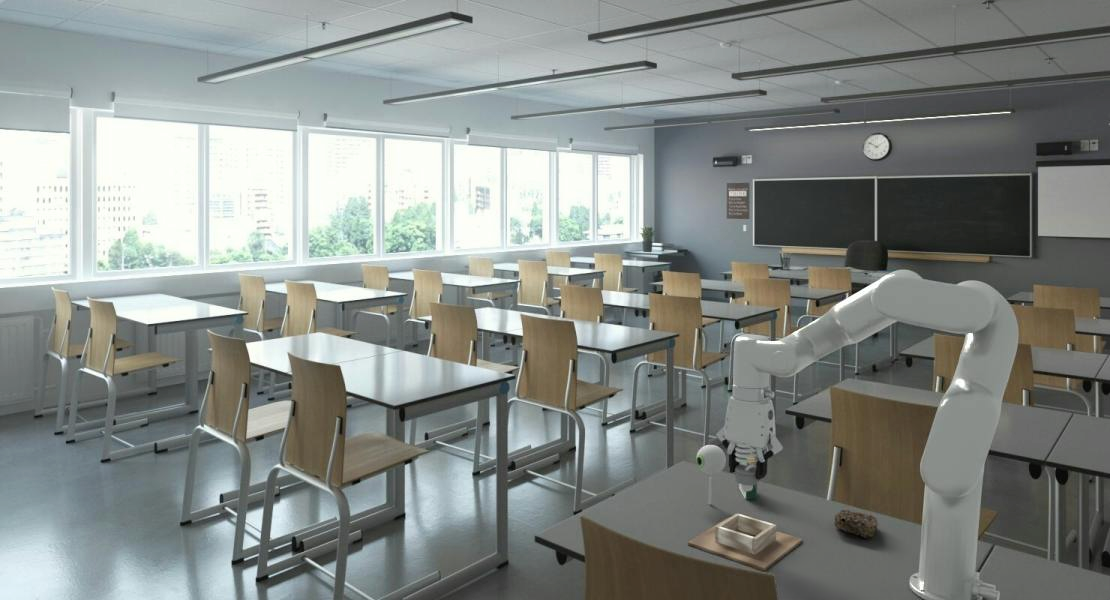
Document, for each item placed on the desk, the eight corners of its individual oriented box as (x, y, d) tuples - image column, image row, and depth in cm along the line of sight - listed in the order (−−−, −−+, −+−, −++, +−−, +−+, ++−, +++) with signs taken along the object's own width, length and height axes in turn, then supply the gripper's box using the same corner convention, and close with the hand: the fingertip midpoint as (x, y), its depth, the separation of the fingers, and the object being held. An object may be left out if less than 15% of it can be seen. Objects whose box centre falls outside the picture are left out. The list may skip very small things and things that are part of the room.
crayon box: (757, 500, 196) (758, 455, 194) (745, 499, 196) (746, 455, 194) (750, 489, 203) (752, 445, 201) (738, 488, 203) (740, 445, 202)
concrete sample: (871, 546, 170) (872, 524, 170) (824, 534, 177) (825, 512, 176) (886, 528, 179) (887, 507, 179) (841, 517, 185) (842, 497, 185)
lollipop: (689, 501, 195) (690, 443, 193) (713, 496, 198) (714, 439, 196) (706, 511, 188) (708, 451, 186) (730, 506, 191) (732, 447, 189)
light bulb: (760, 497, 167) (763, 443, 165) (733, 495, 168) (735, 441, 166) (759, 488, 172) (761, 435, 171) (733, 486, 173) (735, 433, 172)
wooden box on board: (802, 541, 172) (802, 524, 172) (764, 570, 159) (765, 552, 158) (728, 519, 184) (729, 502, 184) (687, 544, 171) (688, 527, 170)
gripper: (796, 396, 164) (792, 479, 167) (723, 383, 175) (720, 461, 178) (780, 403, 159) (776, 489, 161) (706, 389, 170) (703, 469, 172)
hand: (747, 473), depth 169 cm, fingers closed on light bulb, 5 cm apart
